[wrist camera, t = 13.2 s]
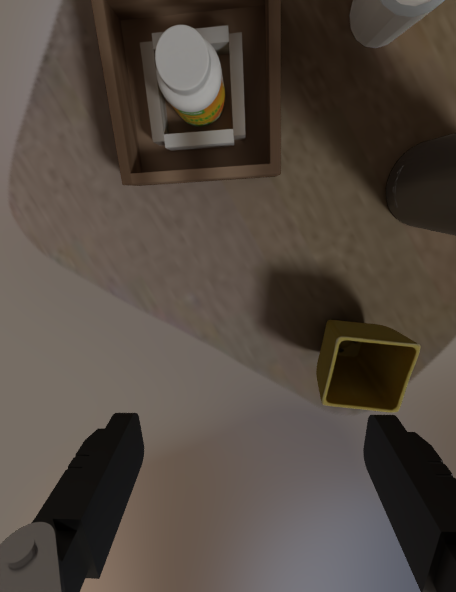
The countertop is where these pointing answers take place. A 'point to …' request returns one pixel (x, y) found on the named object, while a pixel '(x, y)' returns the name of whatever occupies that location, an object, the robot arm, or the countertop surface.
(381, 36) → the white cup
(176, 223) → the countertop surface
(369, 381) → the flower pot
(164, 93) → the supplement bottle
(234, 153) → the walled box
